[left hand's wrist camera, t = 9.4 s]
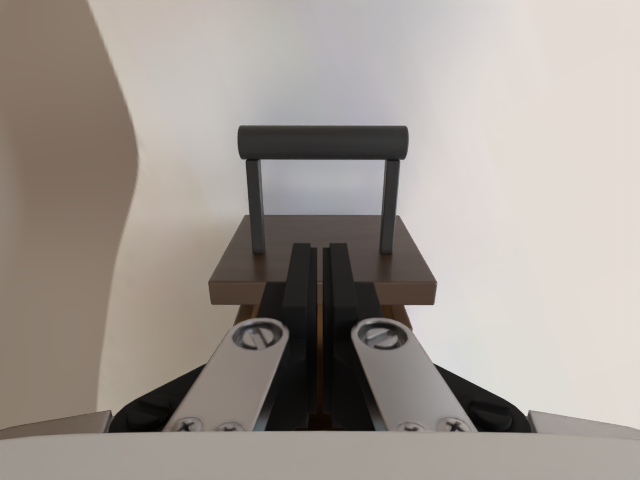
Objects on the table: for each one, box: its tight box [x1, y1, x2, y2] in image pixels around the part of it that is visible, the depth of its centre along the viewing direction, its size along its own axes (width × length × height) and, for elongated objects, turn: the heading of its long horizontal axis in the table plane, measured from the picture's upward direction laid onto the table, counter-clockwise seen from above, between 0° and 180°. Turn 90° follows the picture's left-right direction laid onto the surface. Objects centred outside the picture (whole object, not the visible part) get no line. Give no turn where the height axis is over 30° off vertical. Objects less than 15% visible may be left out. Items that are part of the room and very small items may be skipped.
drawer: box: [208, 126, 437, 431], centre depth 23 cm, size 24×10×9 cm, turn 0°
